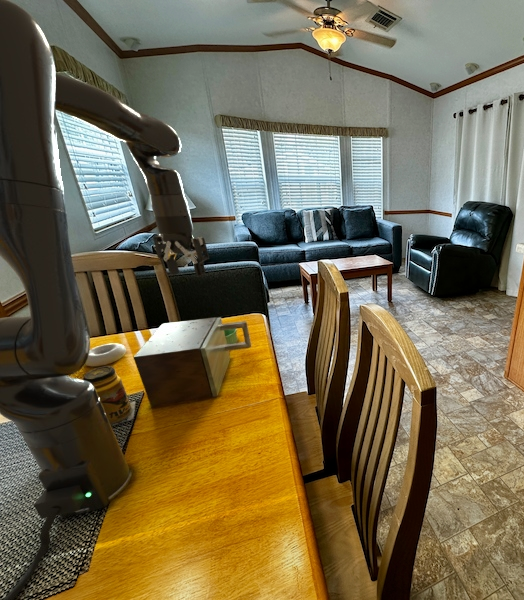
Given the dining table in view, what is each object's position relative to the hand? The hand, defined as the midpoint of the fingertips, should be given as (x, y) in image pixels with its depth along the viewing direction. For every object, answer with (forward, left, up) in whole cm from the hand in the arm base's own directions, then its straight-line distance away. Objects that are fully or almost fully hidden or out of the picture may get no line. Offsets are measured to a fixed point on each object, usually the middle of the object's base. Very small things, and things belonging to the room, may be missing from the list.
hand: (188, 275), depth 88 cm
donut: (+9, +30, -26) cm, 41 cm away
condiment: (-21, +16, -26) cm, 37 cm away
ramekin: (+9, -2, -26) cm, 28 cm away
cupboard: (-11, +2, -26) cm, 29 cm away
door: (-11, -9, -26) cm, 30 cm away
